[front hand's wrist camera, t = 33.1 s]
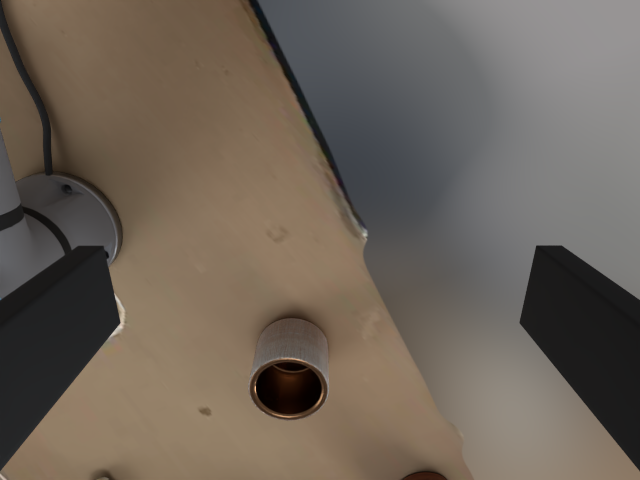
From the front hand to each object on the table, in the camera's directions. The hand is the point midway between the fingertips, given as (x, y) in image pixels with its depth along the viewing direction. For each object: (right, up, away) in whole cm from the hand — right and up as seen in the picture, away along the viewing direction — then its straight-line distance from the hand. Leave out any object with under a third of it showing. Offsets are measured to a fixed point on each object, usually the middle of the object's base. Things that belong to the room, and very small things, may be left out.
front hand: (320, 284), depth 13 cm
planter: (-4, -15, +50) cm, 52 cm away
